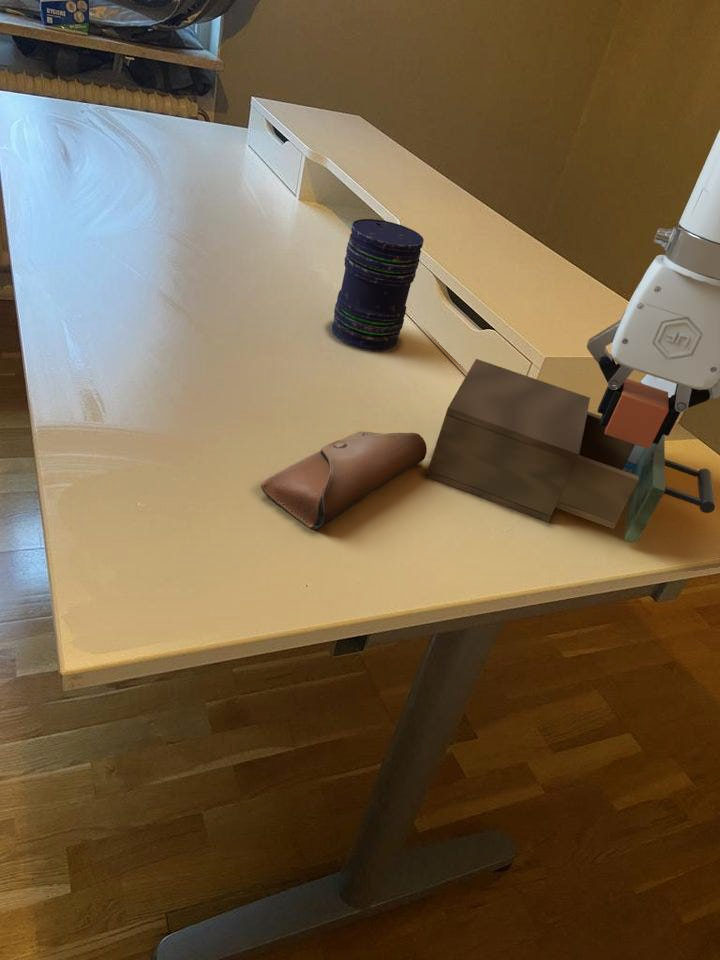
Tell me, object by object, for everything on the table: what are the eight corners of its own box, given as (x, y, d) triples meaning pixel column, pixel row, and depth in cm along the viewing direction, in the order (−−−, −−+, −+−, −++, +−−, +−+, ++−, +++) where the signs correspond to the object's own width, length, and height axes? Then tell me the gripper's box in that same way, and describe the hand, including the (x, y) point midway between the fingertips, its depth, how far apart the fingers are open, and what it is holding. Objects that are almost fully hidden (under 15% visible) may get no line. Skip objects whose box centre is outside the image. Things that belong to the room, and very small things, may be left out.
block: (649, 430, 78) (668, 391, 75) (649, 449, 74) (669, 410, 72) (607, 415, 79) (624, 377, 76) (604, 434, 75) (622, 394, 72)
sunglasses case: (362, 427, 83) (398, 396, 79) (398, 478, 83) (437, 450, 78) (253, 487, 70) (289, 454, 66) (295, 547, 70) (335, 519, 65)
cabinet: (563, 459, 88) (590, 397, 83) (548, 522, 77) (579, 454, 72) (455, 421, 90) (476, 358, 86) (425, 476, 79) (447, 407, 74)
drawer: (687, 499, 85) (716, 451, 81) (691, 564, 74) (724, 512, 70) (535, 445, 88) (555, 395, 84) (518, 500, 77) (540, 446, 73)
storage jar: (410, 350, 104) (438, 247, 96) (349, 353, 100) (373, 244, 91) (377, 319, 111) (401, 220, 103) (319, 320, 106) (338, 216, 98)
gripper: (616, 238, 64) (545, 417, 75) (815, 297, 62) (713, 474, 72) (619, 221, 71) (553, 388, 81) (801, 274, 68) (709, 440, 78)
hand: (629, 427), depth 76 cm, fingers closed on block, 4 cm apart
